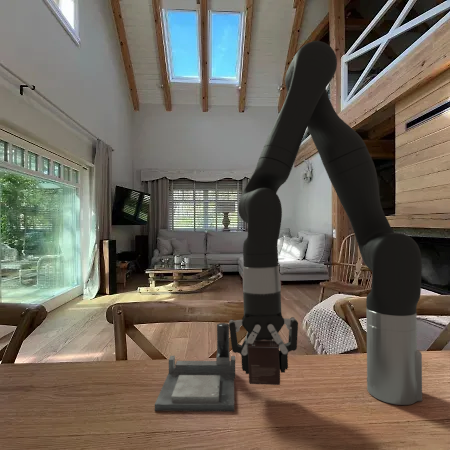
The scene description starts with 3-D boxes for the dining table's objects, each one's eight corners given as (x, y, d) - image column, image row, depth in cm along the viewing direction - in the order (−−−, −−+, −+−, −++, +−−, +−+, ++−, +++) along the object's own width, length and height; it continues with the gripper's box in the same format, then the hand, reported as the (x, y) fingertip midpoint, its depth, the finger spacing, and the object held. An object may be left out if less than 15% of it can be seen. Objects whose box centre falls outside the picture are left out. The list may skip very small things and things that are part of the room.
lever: (229, 359, 77) (229, 322, 77) (229, 364, 73) (229, 326, 74) (217, 359, 77) (216, 322, 77) (216, 364, 73) (216, 326, 74)
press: (235, 373, 76) (235, 355, 76) (235, 411, 60) (235, 389, 60) (170, 372, 77) (170, 355, 77) (154, 410, 61) (154, 388, 61)
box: (280, 386, 61) (278, 347, 61) (248, 384, 62) (247, 346, 62) (280, 372, 67) (279, 336, 67) (251, 371, 68) (250, 336, 68)
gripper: (293, 284, 69) (296, 362, 69) (226, 286, 69) (228, 365, 69) (301, 290, 61) (305, 379, 61) (226, 293, 61) (229, 381, 61)
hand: (264, 371), depth 65 cm, fingers closed on box, 6 cm apart
